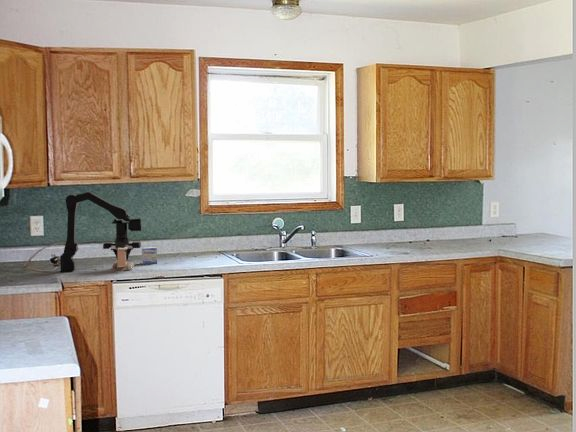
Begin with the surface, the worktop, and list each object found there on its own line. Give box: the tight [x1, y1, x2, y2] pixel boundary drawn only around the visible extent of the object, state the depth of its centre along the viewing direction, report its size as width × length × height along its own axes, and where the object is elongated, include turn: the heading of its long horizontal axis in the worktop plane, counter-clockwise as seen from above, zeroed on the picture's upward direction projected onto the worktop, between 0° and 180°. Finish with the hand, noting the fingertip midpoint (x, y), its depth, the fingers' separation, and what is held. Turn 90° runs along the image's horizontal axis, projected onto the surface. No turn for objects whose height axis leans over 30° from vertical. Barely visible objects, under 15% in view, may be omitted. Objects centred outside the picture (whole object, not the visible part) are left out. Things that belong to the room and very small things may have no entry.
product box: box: [117, 247, 128, 266], centre depth 359 cm, size 7×4×8 cm, turn 4°
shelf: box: [111, 261, 135, 272], centre depth 360 cm, size 10×11×3 cm
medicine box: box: [141, 246, 158, 265], centre depth 375 cm, size 8×4×9 cm, turn 106°
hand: (122, 261), depth 359 cm, fingers closed on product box, 4 cm apart
